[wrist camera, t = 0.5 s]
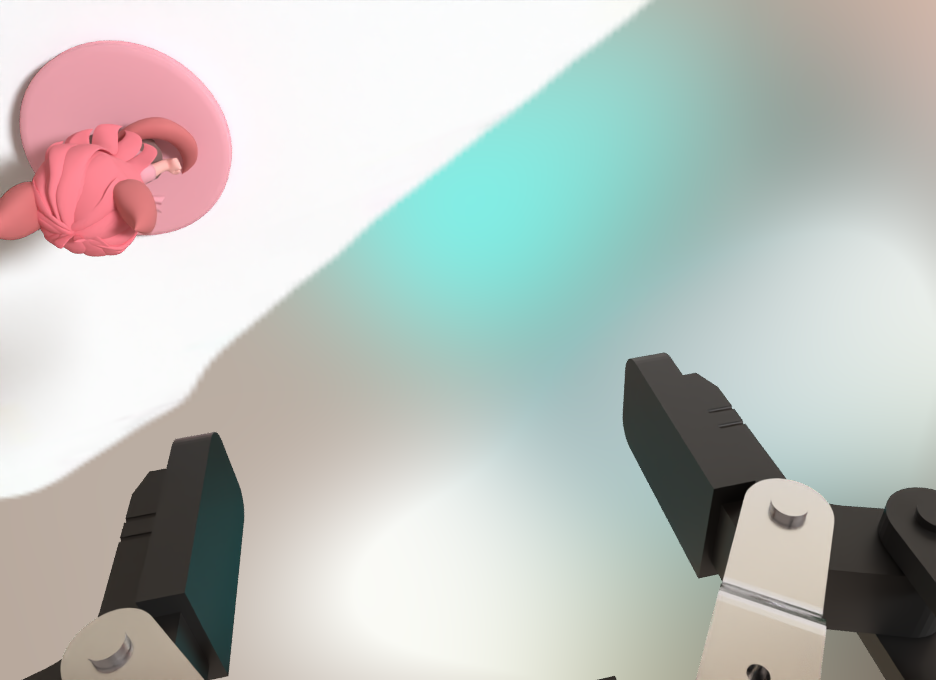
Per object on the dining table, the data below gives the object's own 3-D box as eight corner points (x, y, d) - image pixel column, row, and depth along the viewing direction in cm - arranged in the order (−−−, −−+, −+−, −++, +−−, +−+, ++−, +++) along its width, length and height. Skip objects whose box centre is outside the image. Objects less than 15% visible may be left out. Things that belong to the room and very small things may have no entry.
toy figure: (57, 230, 38) (-30, 358, 29) (-2, 39, 33) (-133, 115, 23) (243, 223, 40) (221, 341, 30) (217, 39, 35) (179, 111, 25)
